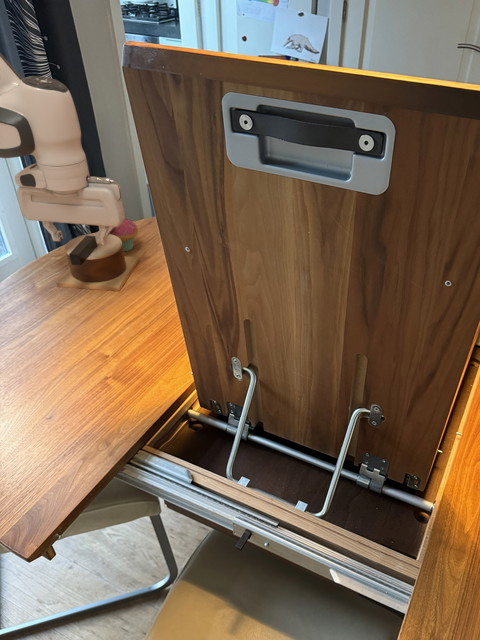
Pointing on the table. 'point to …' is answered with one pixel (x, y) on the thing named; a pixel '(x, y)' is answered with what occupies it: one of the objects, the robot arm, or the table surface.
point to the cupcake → (126, 233)
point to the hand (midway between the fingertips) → (80, 242)
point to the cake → (99, 266)
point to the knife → (85, 248)
